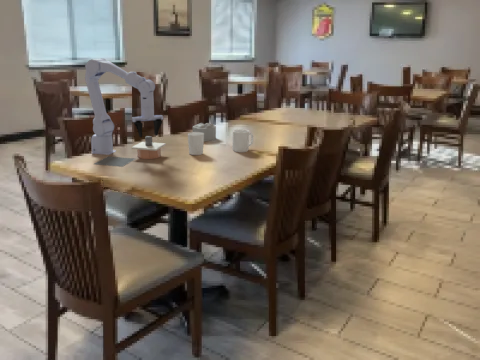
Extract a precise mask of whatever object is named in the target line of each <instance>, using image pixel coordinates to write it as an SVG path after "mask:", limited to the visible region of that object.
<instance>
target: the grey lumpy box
mask: <svg viewBox="0 0 480 360" xmlns="http://www.w3.org/2000/svg"><path fill="white" fill-rule="evenodd" d="M192 132H201V133H204V142H211V141H215V140H216V139H217V125H215V124H212V123H210V122H206V123H203V122H200V123H198V124H195V125H193V126H192Z"/></svg>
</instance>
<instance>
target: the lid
mask: <svg viewBox="0 0 480 360" xmlns="http://www.w3.org/2000/svg"><path fill="white" fill-rule="evenodd" d="M144 139H145V140H144V141H141V142H139V143H137V144H134V145H133V146H131V149H132V150H137V149H140V150H153V151H157V150H158V149H160V148H161V149H162V148H163V147H165V146H167V144H166V142H165V143H164V142H155V141H154V142H153V136H150V135H146V136H145V138H144Z"/></svg>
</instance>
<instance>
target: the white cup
mask: <svg viewBox="0 0 480 360" xmlns="http://www.w3.org/2000/svg"><path fill="white" fill-rule="evenodd" d="M204 143H205V141H204V133H201V132H193V131H191V132H188V133H187V145H188V154H189V155H192V156H200V155H201V156H202V155H203V154H204Z"/></svg>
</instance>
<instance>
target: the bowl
mask: <svg viewBox="0 0 480 360" xmlns="http://www.w3.org/2000/svg"><path fill="white" fill-rule="evenodd" d="M136 150H137V153H136V154H137V157H138V158H139V159H144V160H151V159H152V160H153V159H158V158H160V157H161V156H162V153H161V151H162V148H160V149H158V150H157V151H153V150H140V149H136Z"/></svg>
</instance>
